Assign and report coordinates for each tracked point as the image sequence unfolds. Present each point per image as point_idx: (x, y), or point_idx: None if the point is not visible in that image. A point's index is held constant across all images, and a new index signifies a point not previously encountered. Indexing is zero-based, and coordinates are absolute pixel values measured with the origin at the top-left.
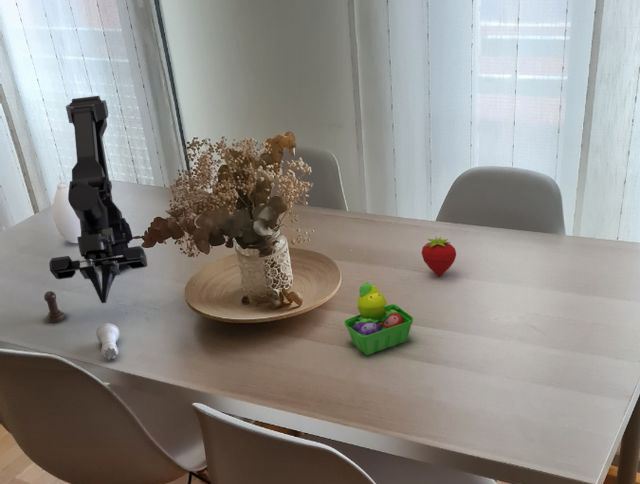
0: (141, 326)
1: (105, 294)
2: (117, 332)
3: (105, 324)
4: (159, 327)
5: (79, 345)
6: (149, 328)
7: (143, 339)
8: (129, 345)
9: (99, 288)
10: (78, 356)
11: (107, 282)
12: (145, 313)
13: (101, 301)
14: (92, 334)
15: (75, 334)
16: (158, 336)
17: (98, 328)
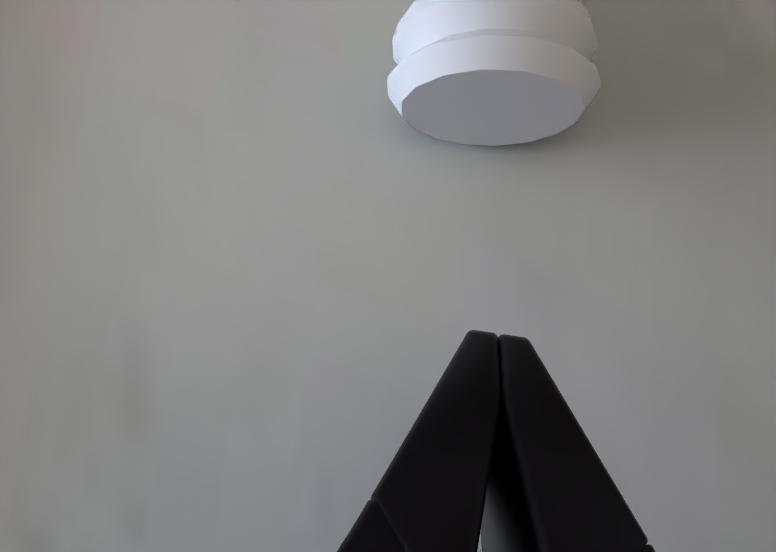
0: (204, 288)
1: (446, 384)
2: (402, 20)
3: (505, 32)
4: (70, 205)
5: (731, 188)
6: (148, 224)
7: (221, 66)
8: (337, 18)
9: (539, 477)
10: (742, 12)
11: (356, 528)
12: (137, 512)
13: (521, 339)
14: (616, 332)
15: (763, 399)
16: (104, 63)
17: (580, 56)
